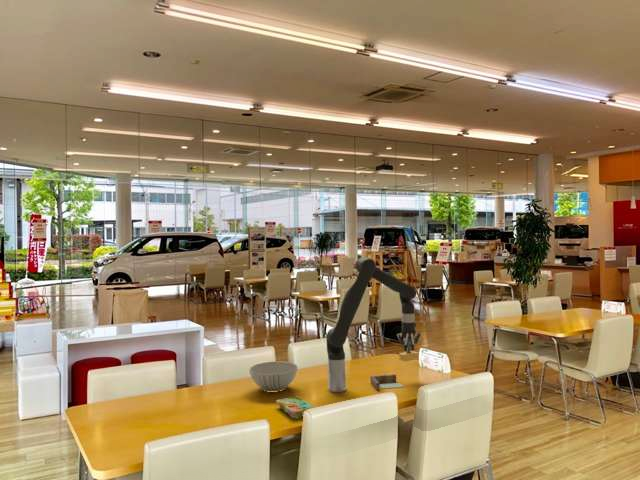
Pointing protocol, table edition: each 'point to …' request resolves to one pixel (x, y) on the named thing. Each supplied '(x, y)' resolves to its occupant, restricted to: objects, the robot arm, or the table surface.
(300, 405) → the puzzle game
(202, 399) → the table surface
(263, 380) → the decorative bowl
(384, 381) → the corner fence
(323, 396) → the table surface
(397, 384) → the resting mat
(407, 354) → the rubber stamp
